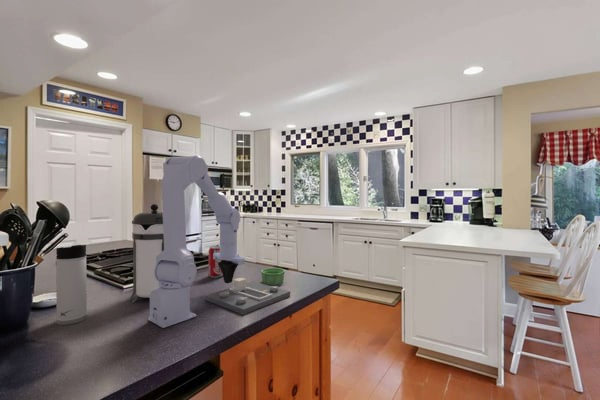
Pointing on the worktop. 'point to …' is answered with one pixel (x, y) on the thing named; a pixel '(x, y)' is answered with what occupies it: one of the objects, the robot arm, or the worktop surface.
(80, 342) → the worktop surface
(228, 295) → the console panel
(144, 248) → the coffee press
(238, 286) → the fader tab
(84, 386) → the worktop surface
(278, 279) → the ramekin
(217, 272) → the soda can
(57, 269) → the travel mug
